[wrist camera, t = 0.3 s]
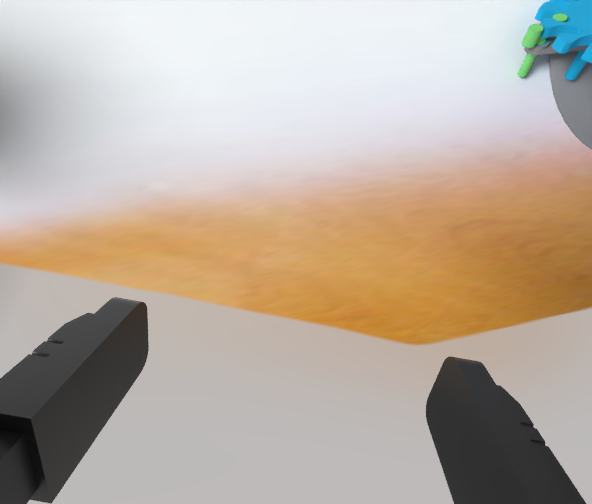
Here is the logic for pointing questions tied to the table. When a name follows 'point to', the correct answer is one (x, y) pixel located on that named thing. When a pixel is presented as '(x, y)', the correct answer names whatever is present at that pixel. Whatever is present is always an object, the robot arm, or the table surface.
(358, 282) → the table surface
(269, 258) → the table surface
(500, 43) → the table surface
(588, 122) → the turntable
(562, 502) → the robot arm
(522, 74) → the gear
